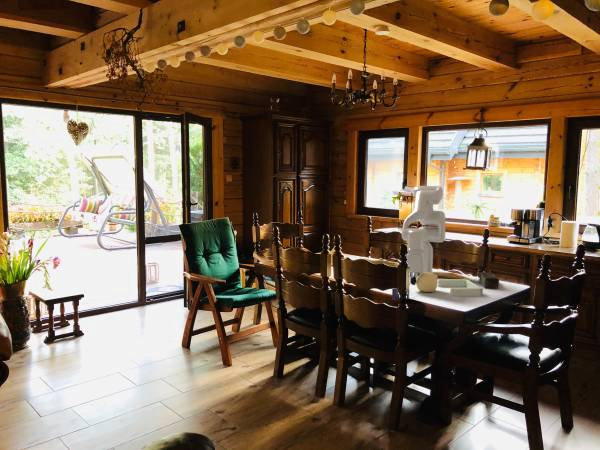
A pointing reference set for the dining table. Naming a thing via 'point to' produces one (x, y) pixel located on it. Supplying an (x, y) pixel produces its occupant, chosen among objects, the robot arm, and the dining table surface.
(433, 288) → the pale yellow ball
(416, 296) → the dining table surface
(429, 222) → the robot arm
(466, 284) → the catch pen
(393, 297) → the flask
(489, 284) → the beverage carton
